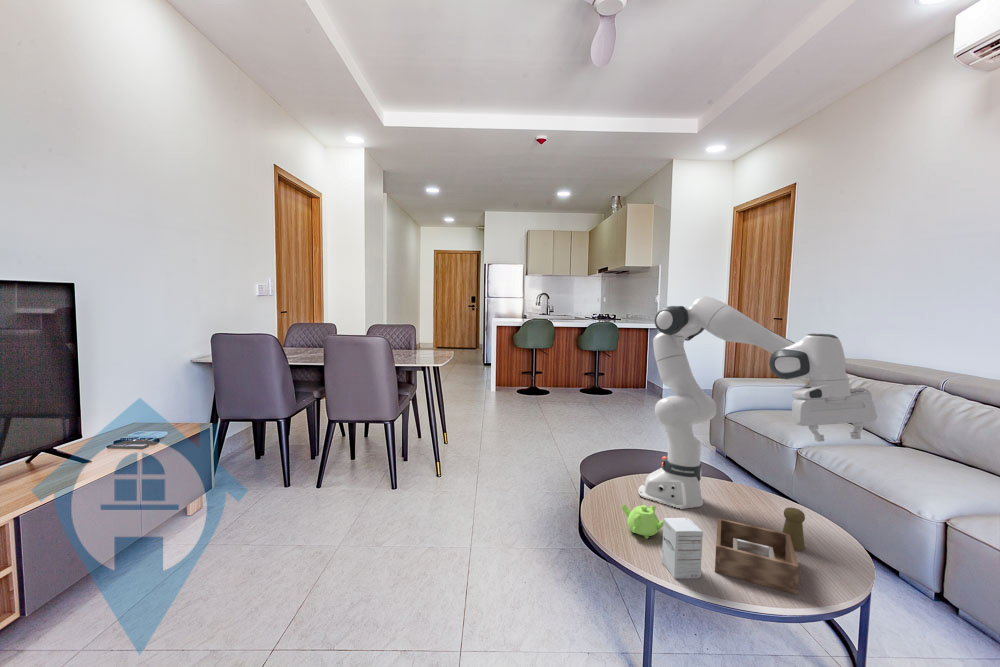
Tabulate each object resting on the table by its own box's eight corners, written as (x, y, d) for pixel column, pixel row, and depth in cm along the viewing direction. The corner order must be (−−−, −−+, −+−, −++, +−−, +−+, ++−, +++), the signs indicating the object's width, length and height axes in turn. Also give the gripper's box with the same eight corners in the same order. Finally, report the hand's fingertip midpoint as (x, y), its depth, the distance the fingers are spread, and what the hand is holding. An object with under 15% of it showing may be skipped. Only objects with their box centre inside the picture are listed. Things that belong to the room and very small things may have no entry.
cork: (806, 545, 126) (808, 509, 125) (803, 553, 121) (805, 516, 121) (782, 537, 130) (784, 503, 129) (778, 545, 125) (780, 509, 125)
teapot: (630, 541, 125) (631, 514, 125) (619, 523, 137) (620, 497, 136) (667, 543, 125) (669, 515, 125) (653, 523, 137) (655, 498, 136)
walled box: (714, 571, 111) (716, 545, 111) (716, 540, 127) (717, 518, 127) (797, 594, 103) (798, 566, 102) (788, 558, 118) (789, 534, 118)
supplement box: (660, 562, 115) (662, 517, 114) (686, 562, 115) (688, 516, 115) (673, 579, 108) (675, 531, 107) (701, 578, 108) (703, 530, 108)
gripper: (860, 386, 120) (868, 435, 119) (785, 392, 122) (793, 440, 121) (878, 387, 114) (887, 439, 113) (799, 393, 116) (806, 444, 114)
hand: (837, 440), depth 117 cm, fingers open, 8 cm apart
